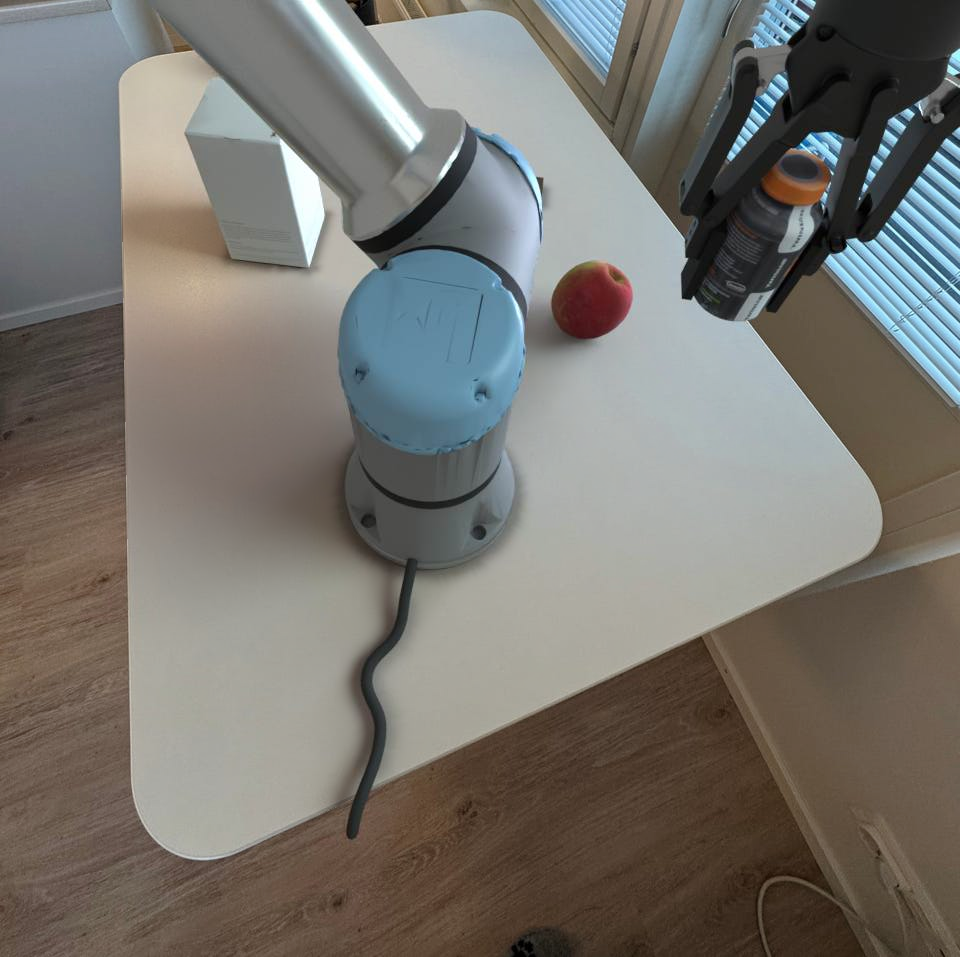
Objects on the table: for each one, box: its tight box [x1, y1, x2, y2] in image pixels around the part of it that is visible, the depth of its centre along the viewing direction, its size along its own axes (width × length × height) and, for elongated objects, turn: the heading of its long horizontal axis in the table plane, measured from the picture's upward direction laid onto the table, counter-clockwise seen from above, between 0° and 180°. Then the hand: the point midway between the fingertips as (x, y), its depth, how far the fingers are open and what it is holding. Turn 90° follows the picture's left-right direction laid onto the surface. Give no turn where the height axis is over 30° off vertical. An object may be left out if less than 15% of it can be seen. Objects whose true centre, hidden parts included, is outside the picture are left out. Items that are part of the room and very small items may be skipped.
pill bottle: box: [693, 148, 832, 323], centre depth 45 cm, size 6×6×11 cm
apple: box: [550, 260, 634, 340], centre depth 65 cm, size 8×8×8 cm
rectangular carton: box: [183, 76, 326, 269], centre depth 65 cm, size 9×9×15 cm
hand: (728, 292), depth 50 cm, fingers closed on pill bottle, 6 cm apart
